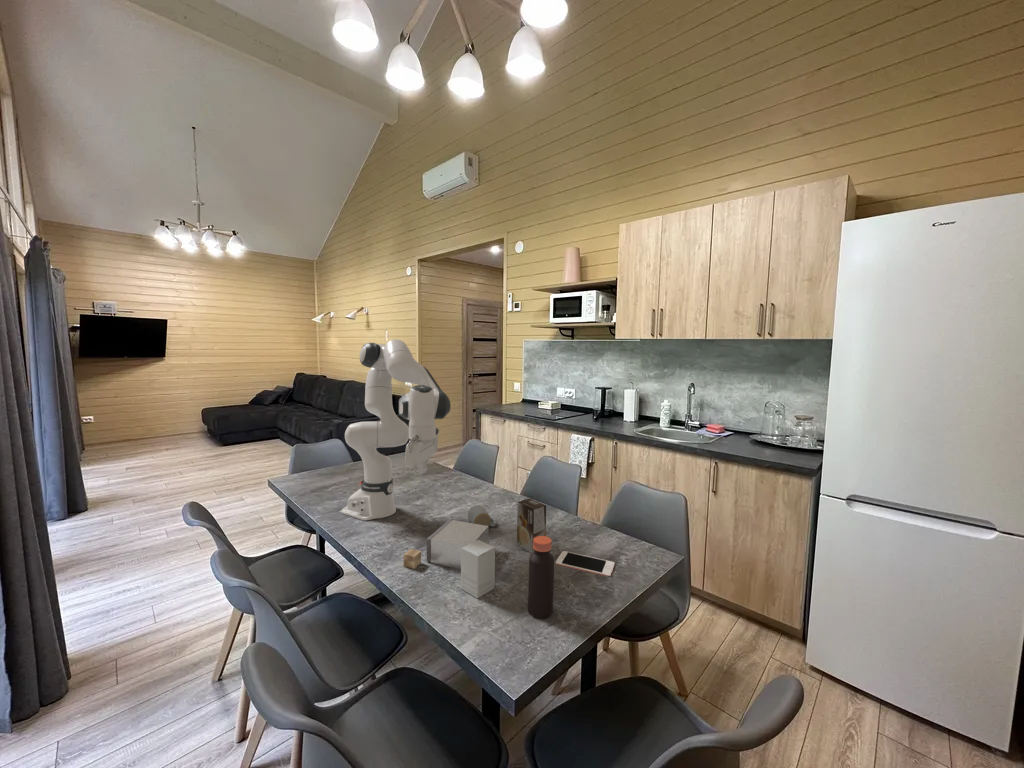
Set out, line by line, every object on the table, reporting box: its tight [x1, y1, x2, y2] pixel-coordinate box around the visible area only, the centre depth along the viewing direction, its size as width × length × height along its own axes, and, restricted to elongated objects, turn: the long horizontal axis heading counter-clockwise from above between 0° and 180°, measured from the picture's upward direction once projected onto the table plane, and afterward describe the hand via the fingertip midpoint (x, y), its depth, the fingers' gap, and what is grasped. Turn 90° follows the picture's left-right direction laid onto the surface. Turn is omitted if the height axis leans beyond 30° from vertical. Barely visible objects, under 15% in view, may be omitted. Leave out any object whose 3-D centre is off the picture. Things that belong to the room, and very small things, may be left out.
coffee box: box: [516, 498, 547, 554], centre depth 147 cm, size 9×6×16 cm
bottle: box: [527, 535, 556, 619], centre depth 111 cm, size 7×7×20 cm
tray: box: [426, 519, 453, 563], centre depth 141 cm, size 15×16×8 cm
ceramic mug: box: [467, 504, 497, 528], centre depth 163 cm, size 11×8×8 cm
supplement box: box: [460, 540, 496, 599], centre depth 121 cm, size 7×7×13 cm
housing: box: [430, 519, 490, 570], centre depth 140 cm, size 14×16×8 cm
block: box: [403, 548, 422, 569], centre depth 134 cm, size 4×4×4 cm
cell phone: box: [555, 550, 616, 577], centre depth 137 cm, size 9×18×1 cm, turn 67°
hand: (421, 472), depth 143 cm, fingers closed
